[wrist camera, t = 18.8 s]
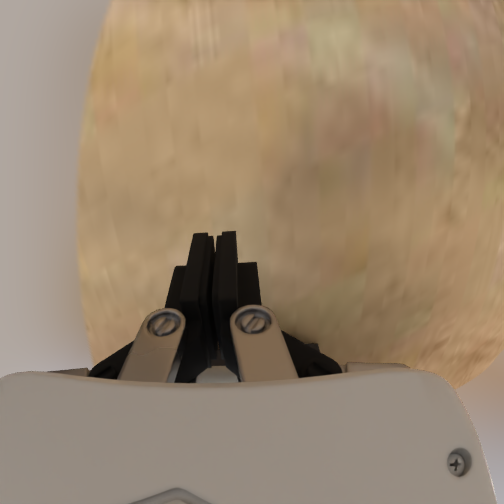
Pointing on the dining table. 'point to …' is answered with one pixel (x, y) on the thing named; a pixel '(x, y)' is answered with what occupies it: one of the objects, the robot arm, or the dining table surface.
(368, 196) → the dining table surface
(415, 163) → the dining table surface
